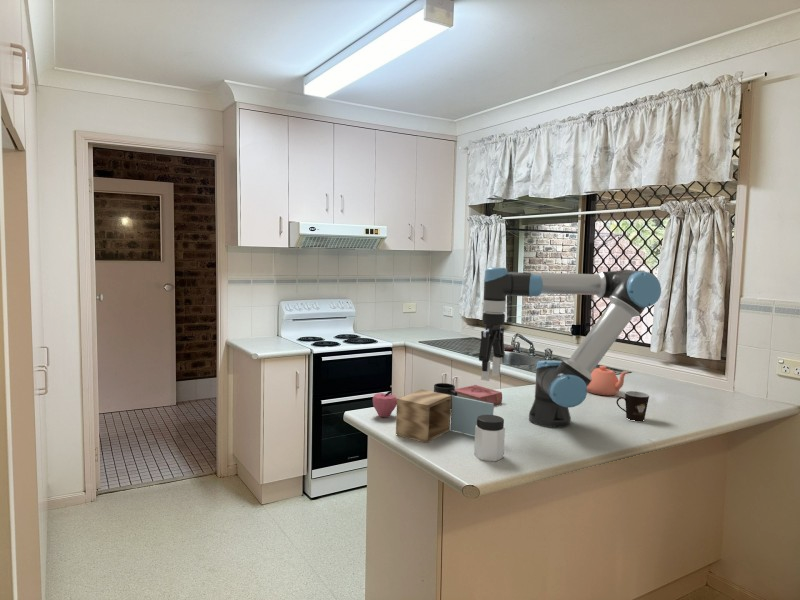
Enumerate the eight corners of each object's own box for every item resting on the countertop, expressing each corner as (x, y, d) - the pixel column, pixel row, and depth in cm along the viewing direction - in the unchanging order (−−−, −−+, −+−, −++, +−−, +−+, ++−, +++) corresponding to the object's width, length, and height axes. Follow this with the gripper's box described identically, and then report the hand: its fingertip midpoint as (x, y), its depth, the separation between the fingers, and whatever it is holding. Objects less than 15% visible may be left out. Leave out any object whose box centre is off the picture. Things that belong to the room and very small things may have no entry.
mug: (445, 416, 212) (446, 391, 211) (429, 407, 223) (430, 384, 222) (463, 413, 216) (464, 389, 215) (446, 405, 227) (447, 382, 226)
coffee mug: (646, 417, 218) (648, 392, 218) (648, 424, 210) (650, 398, 209) (614, 413, 222) (616, 389, 221) (615, 420, 214) (617, 394, 213)
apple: (385, 411, 215) (386, 386, 214) (401, 417, 209) (402, 390, 208) (367, 416, 209) (367, 390, 208) (382, 422, 202) (383, 395, 201)
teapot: (634, 395, 252) (636, 368, 251) (618, 401, 242) (620, 373, 241) (588, 385, 268) (590, 360, 267) (572, 390, 258) (574, 364, 257)
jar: (484, 449, 178) (486, 412, 177) (507, 456, 173) (509, 418, 172) (469, 456, 172) (471, 418, 170) (492, 463, 166) (494, 424, 165)
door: (451, 429, 195) (452, 394, 194) (492, 439, 187) (493, 403, 186) (449, 430, 195) (451, 395, 193) (490, 440, 186) (492, 403, 185)
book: (479, 410, 223) (480, 398, 222) (452, 401, 234) (452, 389, 233) (502, 404, 232) (503, 392, 232) (474, 396, 243) (475, 384, 243)
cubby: (449, 430, 196) (451, 395, 195) (426, 442, 183) (427, 405, 181) (420, 423, 202) (422, 389, 201) (395, 434, 189) (397, 398, 188)
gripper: (496, 309, 202) (493, 371, 204) (470, 314, 185) (467, 381, 187) (515, 311, 198) (512, 374, 200) (491, 316, 181) (487, 385, 183)
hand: (490, 377), depth 193 cm, fingers open, 8 cm apart
